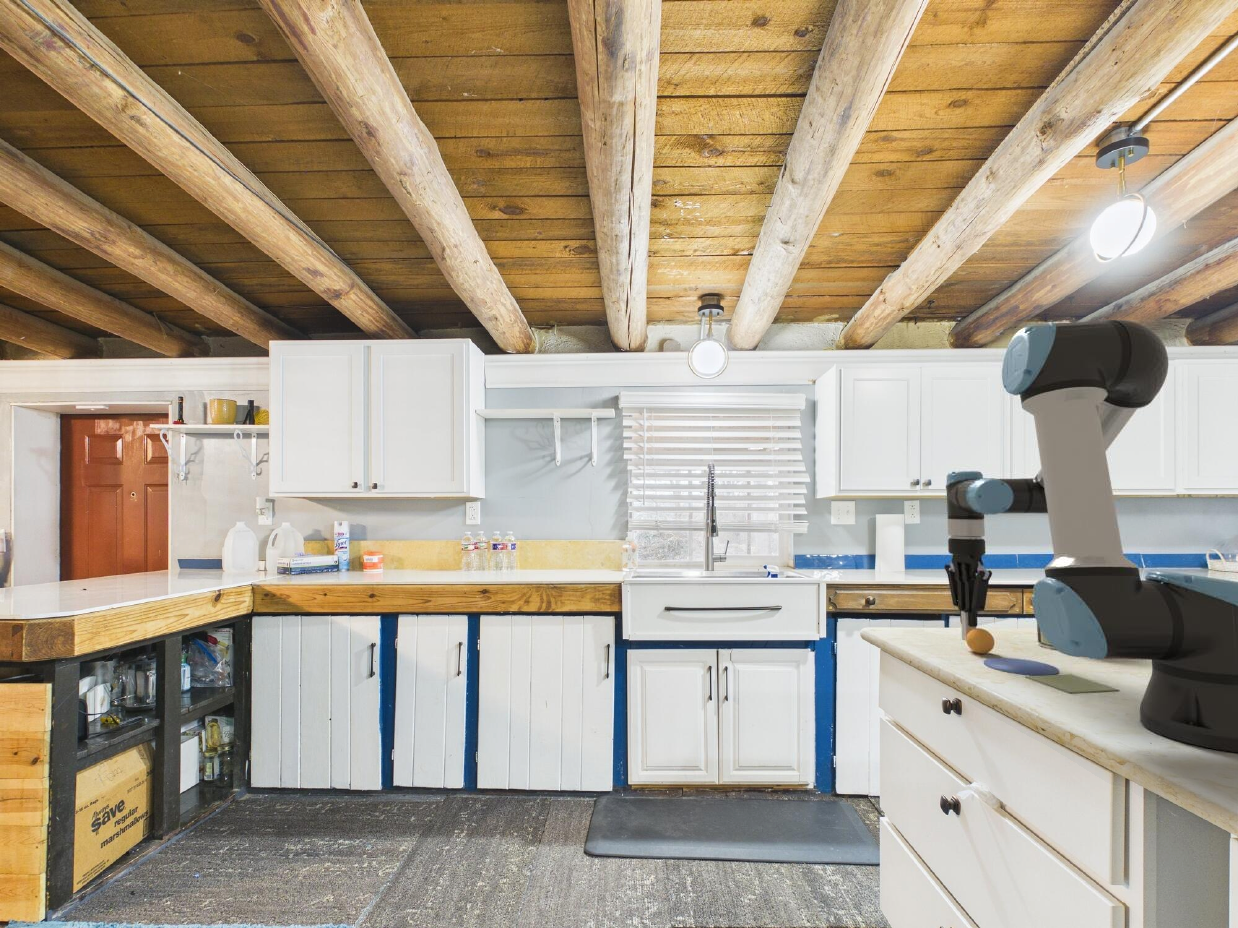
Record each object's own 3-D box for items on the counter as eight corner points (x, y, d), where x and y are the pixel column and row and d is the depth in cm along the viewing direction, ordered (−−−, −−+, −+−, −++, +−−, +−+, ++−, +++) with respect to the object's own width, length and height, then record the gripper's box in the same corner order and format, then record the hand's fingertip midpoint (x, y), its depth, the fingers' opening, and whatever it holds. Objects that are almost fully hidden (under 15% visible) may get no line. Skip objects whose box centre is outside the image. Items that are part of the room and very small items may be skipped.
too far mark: (1119, 690, 110) (1119, 689, 110) (1070, 693, 108) (1070, 692, 108) (1071, 675, 120) (1071, 674, 120) (1025, 677, 118) (1025, 676, 118)
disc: (1072, 677, 118) (1072, 676, 118) (997, 673, 121) (997, 672, 121) (1041, 660, 131) (1041, 659, 131) (974, 657, 134) (974, 656, 134)
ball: (989, 661, 137) (1001, 647, 133) (963, 654, 138) (975, 640, 134) (984, 640, 141) (996, 627, 137) (960, 634, 142) (971, 620, 138)
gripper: (1001, 539, 136) (1005, 646, 135) (961, 535, 149) (964, 632, 148) (971, 539, 135) (974, 647, 134) (933, 535, 148) (936, 633, 147)
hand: (969, 639), depth 141 cm, fingers closed
